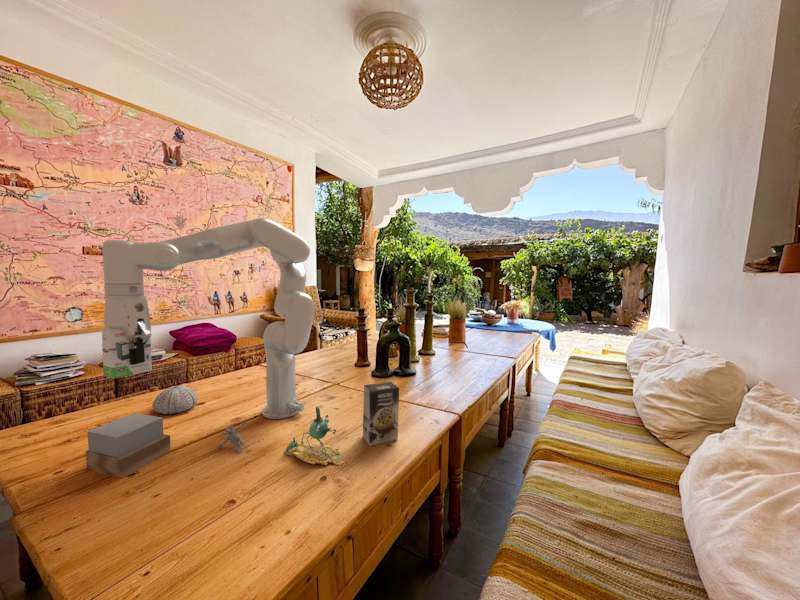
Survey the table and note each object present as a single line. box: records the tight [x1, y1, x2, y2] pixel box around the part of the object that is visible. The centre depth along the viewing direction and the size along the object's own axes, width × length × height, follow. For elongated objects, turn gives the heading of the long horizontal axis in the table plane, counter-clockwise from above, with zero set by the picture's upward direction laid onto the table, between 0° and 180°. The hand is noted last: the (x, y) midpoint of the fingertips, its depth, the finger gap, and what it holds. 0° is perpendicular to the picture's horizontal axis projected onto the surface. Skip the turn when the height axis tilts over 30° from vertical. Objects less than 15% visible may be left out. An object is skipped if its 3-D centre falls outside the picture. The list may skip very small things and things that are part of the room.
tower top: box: [87, 412, 164, 458], centre depth 84 cm, size 10×11×5 cm
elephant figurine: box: [217, 421, 247, 453], centre depth 92 cm, size 9×5×8 cm
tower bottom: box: [85, 433, 172, 479], centre depth 85 cm, size 12×12×5 cm
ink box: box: [101, 327, 153, 379], centre depth 83 cm, size 9×5×12 cm, turn 150°
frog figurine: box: [283, 406, 345, 466], centre depth 88 cm, size 10×18×15 cm, turn 66°
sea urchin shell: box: [151, 385, 199, 415], centre depth 116 cm, size 13×14×8 cm
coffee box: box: [362, 381, 400, 447], centre depth 98 cm, size 9×6×16 cm
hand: (128, 361), depth 83 cm, fingers closed on ink box, 5 cm apart
